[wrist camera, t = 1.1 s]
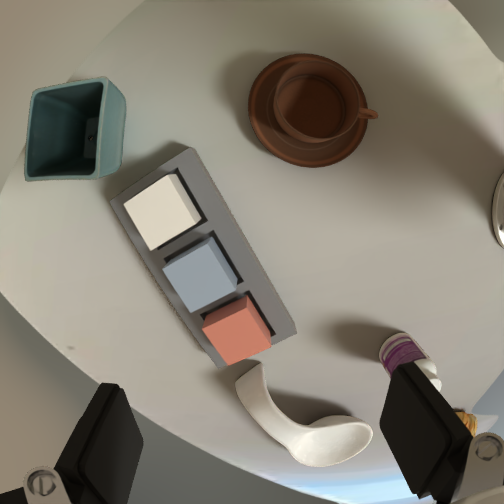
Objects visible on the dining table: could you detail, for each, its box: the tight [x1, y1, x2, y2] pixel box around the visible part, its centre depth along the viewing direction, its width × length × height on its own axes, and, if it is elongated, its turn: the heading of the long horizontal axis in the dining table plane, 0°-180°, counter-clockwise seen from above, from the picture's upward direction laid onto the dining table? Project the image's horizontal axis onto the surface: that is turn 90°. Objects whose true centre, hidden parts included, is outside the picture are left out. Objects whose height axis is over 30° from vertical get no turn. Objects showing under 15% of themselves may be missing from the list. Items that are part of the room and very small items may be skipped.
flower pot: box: [24, 77, 126, 182], centre depth 25 cm, size 9×9×9 cm
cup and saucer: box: [248, 54, 378, 168], centre depth 26 cm, size 12×12×6 cm
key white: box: [124, 174, 202, 251], centre depth 28 cm, size 5×5×3 cm
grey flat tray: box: [109, 147, 297, 369], centre depth 32 cm, size 10×22×2 cm, turn 29°
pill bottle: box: [379, 333, 441, 391], centre depth 31 cm, size 5×5×10 cm
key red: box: [202, 295, 271, 366], centre depth 31 cm, size 5×5×3 cm
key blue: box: [162, 237, 237, 313], centre depth 29 cm, size 5×5×3 cm
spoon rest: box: [235, 363, 373, 467], centre depth 35 cm, size 24×12×7 cm, turn 46°
